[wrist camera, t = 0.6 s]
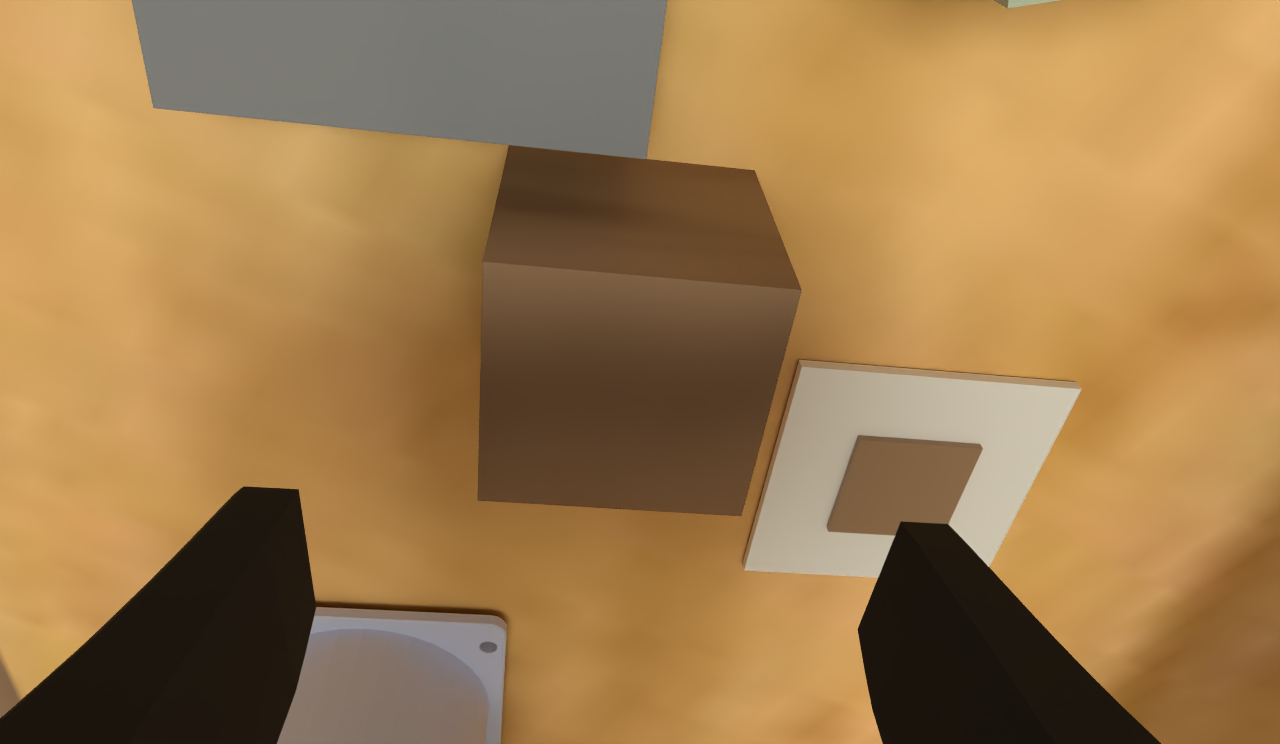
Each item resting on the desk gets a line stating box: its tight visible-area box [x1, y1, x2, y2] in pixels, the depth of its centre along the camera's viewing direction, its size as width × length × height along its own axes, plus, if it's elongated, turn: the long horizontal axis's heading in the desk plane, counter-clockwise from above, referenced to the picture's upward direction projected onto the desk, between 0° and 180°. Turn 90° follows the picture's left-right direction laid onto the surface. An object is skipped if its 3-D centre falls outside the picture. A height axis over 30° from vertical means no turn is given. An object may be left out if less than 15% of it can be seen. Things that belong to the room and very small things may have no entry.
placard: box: [743, 360, 1081, 578], centre depth 22 cm, size 7×7×1 cm
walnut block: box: [478, 145, 801, 516], centre depth 17 cm, size 5×5×5 cm
